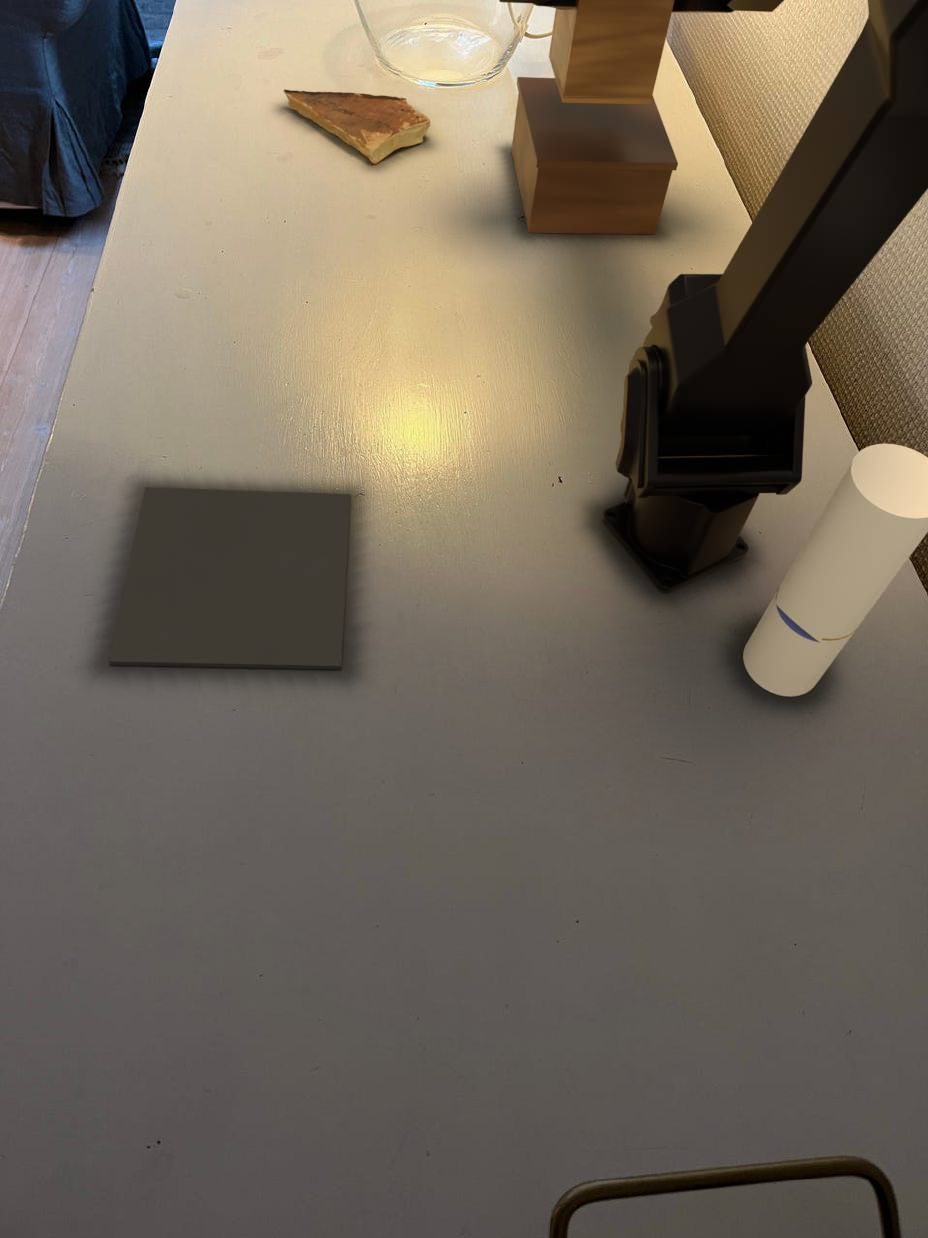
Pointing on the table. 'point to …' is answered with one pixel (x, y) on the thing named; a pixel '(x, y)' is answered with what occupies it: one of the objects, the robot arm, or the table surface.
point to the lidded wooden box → (589, 163)
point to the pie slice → (363, 120)
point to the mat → (236, 580)
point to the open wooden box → (609, 50)
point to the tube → (841, 568)
